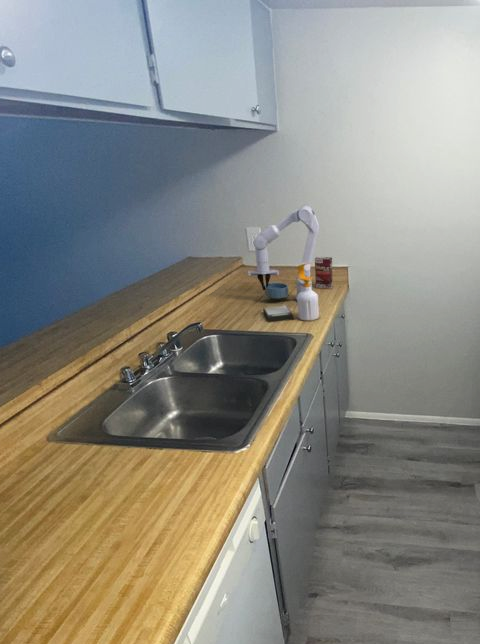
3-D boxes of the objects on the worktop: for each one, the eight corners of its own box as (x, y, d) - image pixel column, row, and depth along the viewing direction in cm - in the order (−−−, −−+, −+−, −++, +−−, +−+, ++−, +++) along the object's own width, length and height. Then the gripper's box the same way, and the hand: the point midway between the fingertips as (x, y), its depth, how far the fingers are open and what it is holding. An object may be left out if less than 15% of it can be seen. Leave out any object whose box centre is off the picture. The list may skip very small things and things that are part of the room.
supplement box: (315, 288, 256) (314, 258, 248) (318, 285, 260) (316, 256, 252) (331, 288, 254) (330, 259, 247) (333, 286, 259) (332, 257, 251)
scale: (263, 313, 218) (263, 307, 216) (287, 310, 221) (286, 305, 220) (268, 322, 207) (268, 316, 206) (293, 319, 211) (292, 313, 209)
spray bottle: (311, 322, 207) (307, 265, 195) (294, 318, 211) (290, 263, 199) (322, 316, 214) (320, 261, 202) (306, 313, 218) (303, 259, 206)
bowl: (263, 293, 237) (262, 283, 234) (285, 292, 241) (285, 282, 238) (267, 299, 227) (266, 289, 225) (290, 298, 231) (290, 288, 229)
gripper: (246, 264, 221) (249, 292, 227) (277, 263, 223) (280, 291, 229) (247, 260, 227) (250, 288, 233) (278, 259, 229) (280, 287, 235)
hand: (265, 289), depth 232 cm, fingers closed on bowl
